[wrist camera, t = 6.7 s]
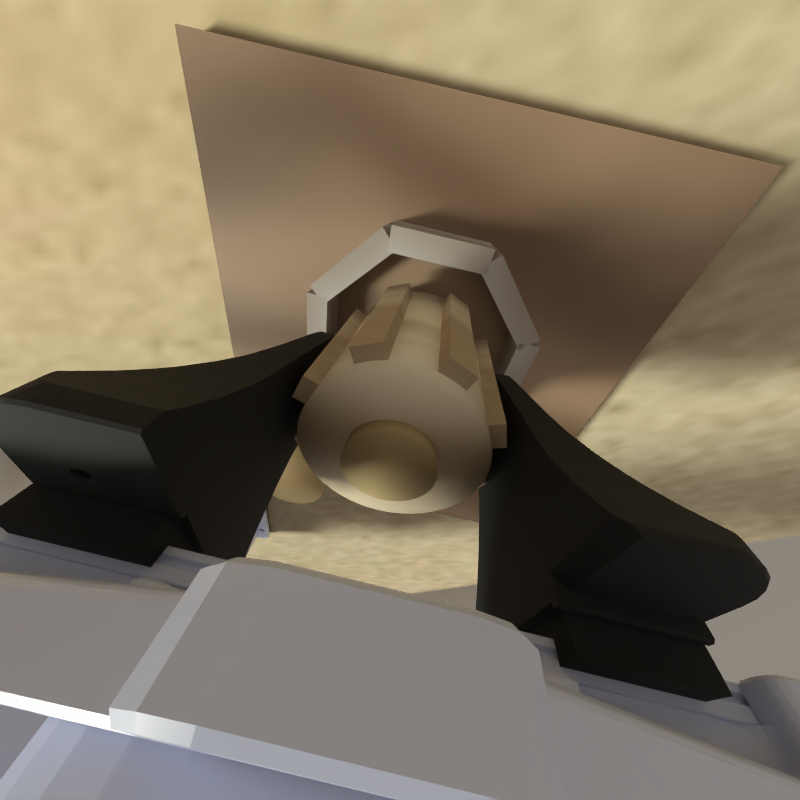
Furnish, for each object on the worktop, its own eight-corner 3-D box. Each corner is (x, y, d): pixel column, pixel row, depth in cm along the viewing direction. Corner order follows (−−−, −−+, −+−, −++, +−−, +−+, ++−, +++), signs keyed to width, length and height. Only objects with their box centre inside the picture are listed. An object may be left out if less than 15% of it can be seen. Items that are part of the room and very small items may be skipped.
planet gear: (459, 417, 14) (463, 552, 9) (344, 390, 14) (281, 508, 9) (506, 301, 11) (560, 408, 5) (356, 266, 11) (263, 338, 5)
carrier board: (503, 518, 21) (512, 574, 18) (260, 459, 21) (227, 505, 18) (759, 168, 9) (919, 155, 6) (194, 35, 9) (63, -45, 6)
